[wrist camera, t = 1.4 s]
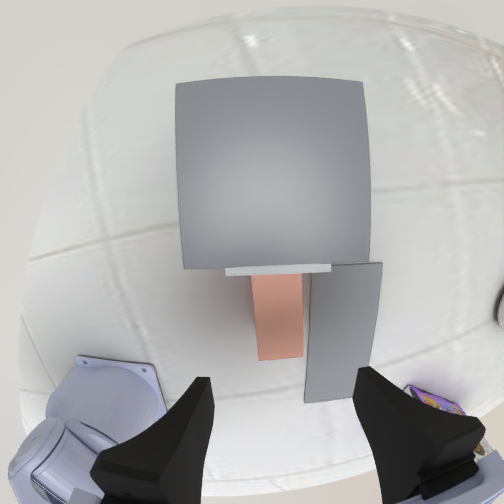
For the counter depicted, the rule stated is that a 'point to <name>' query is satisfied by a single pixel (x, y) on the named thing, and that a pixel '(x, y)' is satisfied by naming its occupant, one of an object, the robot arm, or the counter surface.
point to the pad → (340, 328)
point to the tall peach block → (278, 315)
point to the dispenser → (272, 174)
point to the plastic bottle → (501, 313)
